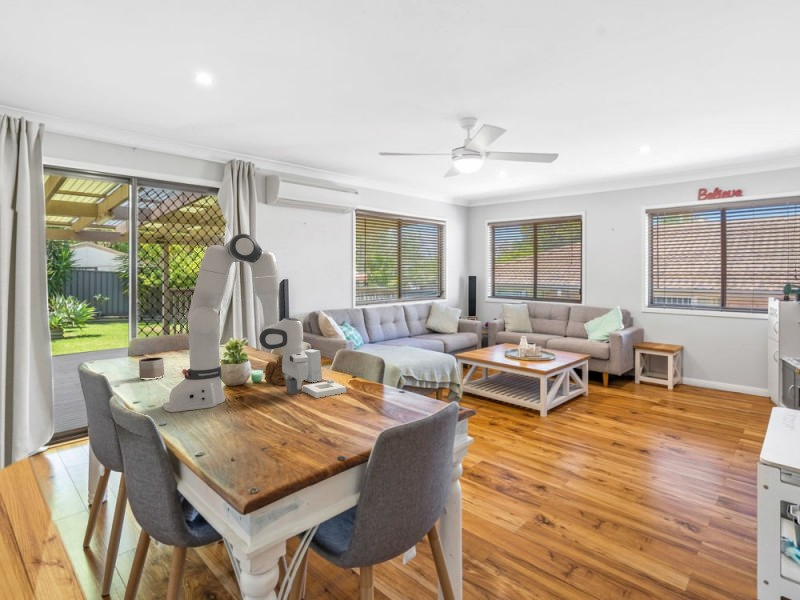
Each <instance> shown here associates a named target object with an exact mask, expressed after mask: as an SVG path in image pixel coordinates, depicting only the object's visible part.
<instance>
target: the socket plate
mask: <svg viewBox="0 0 800 600" xmlns="http://www.w3.org/2000/svg"><path fill="white" fill-rule="evenodd" d="M302 392H304V393H306V394H307V393H308V394H307V395H309V394H310V396H312V397H313V398H315V399H320V397H321V398H326V397H331V396H336V395H335V394H337V395H340V394H341V393H342V394H346V393H347V387H346V386H344V385H342V384H340V383H338V382H336V381H335V380H333V379H327V380H326V381H323V382H322V381H320V382H314V383H310V384H304V385H303V384H302ZM342 394H341V395H342ZM330 395H331V396H330ZM325 396H326V397H325Z"/></svg>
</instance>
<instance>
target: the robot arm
mask: <svg viewBox="0 0 800 600" xmlns="http://www.w3.org/2000/svg"><path fill="white" fill-rule="evenodd" d="M235 262H238V263H240V262H242V263H243V262H245V263H247V264H248V265H249V267H250V270H251V280H252V286H253V290H254V293H255V296H257V297H258V299H259V301H260V303H261V307H262V315H263V328H262V329H261V331H260V332H261V333H260V335H259V339H258V340H259V343H260V345H261V346H262V347H263V348H265V349H266V350H275V349H280V348H282V355H283V359H282V371H283V373H285V374H286V376H287V379H289V378H292V377H293V378H295V379H297V385H296V388H297V389H301V385H302V386H303V381H304V380H306V379H307V375H308V366H307V362H306V361H308V356H307V355H306V354H305V352H304V350H305V347H304V344H303V343H304V329H303V323H302V321H301V320H300V319H298V318H295V317H284V318H283V319H282V320H279V311H278V297H279V294H280V293H279V291H280V273H279V266H278V262H277V258H276V255H275V253H273V252H272V251H270V250H266V249H262V248H261V246H260V244H259V243H258V242H257V240H256V239H255V238H254V237H253V236H251V234H247V233H240V234H236V235H234V236H233V237H231V238H230V239H229V241H228V242H227V243H225V245H219V244H213V245H210V246H209V247H207V249H206V251H205V252H204V255H203V257H202V260H201V263H200V267H199V269H198V270H199V271H198V275H197V278H196V283H195V286H194V291H193V295H192V298H191V302H190V306H189V310H188V314H187V323H188V337H189V338H188V342H189V343H188V344H189V345H188V350H189V368H188V369H186V368H184V369H182V370H181V374H182V375H184V379H183V380H182V381H180V382H179V383H178V384H177V385H175V386H174V387H173V388H172V389H171V391H170V394H169V400H168V401H165V402H164V403H163V406H162V408H163V410H164V411H166V412H168V413H169V412H170V413H177V412H183V411H193V410H200V409H207V408H208V409H209V408H214V407H216V406H217V405H219V404H222V403H224V402H225V401H226V397H225V394H224V391H223V386H222V378H223V377H222V376H223V374H222V366H221V363H220V362H221V360H220V359H221V358H220V340H221V339H220V337H221V336H220V334H221V333H220V331H221V325H220V323H221V321H220V320H221V319H220V315H219V312H220V310H221V309H220V308H221V306H222V302H223V299H224V296H225V293H226V288H227V285H228V279H229V275H230V270H231V267H232V265H233V264H234V263H235Z"/></svg>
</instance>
